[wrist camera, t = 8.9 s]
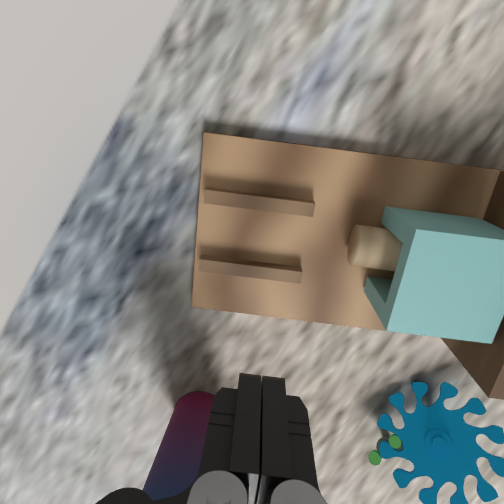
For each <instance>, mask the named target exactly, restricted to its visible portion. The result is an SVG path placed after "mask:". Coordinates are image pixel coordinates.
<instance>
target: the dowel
mask: <svg viewBox="0 0 504 504" xmlns="http://www.w3.org/2000/svg"><path fill="white" fill-rule="evenodd" d="M402 245H403V243H402V242H401V241H400V240H399V239H398V238H397V237H396V236H395V235H393V234H392V233H391V232H390V231H389V230H388V229H386V228H379V227H372V226H365V225H355V226H354V227H353V229H352V231H351V234H350V237H349V242H348V249H347V258H348V263H349V264H350V265H353V266H360V267H367V268H375V269H382V270H389V271H395V270H396V266H397V263H398V259H399V256H400V252H401V249H402Z"/></svg>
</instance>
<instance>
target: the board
mask: <svg viewBox="0 0 504 504" xmlns="http://www.w3.org/2000/svg"><path fill="white" fill-rule="evenodd" d="M385 206H388V207H395V208H403V209H411V210H419V211H427V212H435V213H443V214H451V215H458V216H466V217H474V218H480V219H482V220H484V221H486V222H488V223H490V224H493V225H495V226H497V227H499V228H501V229H503V230H504V170H496V169H488V168H480V167H473V166H465V165H457V164H449V163H441V162H434V161H426V160H418V159H410V158H403V157H395V156H387V155H379V154H371V153H364V152H356V151H348V150H340V149H333V148H325V147H317V146H309V145H301V144H294V143H286V142H278V141H270V140H263V139H255V138H247V137H239V136H232V135H224V134H216V133H208V132H204V135H203V149H202V163H201V178H200V192H199V206H198V221H197V235H196V249H195V264H194V278H193V292H192V307H197V308H205V309H213V310H222V311H230V312H238V313H246V314H254V315H262V316H270V317H279V318H287V319H295V320H303V321H311V322H319V323H327V324H336V325H344V326H352V327H360V328H368V329H376V330H384V331H386V329H385V328H384V326H383V324H382V322H381V321H380V319H379V317H378V315H377V314H376V312H375V310H374V308H373V307H372V305H371V303H370V301H369V300H368V298H367V296H366V294H365V293H364V287H365V283H366V279H367V276H369V277H377V278H385V279H393V277H394V273H395V271H389V270H382V269H375V268H367V267H360V266H353V265H350V264H349V263H348V258H347V249H348V242H349V237H350V234H351V231H352V229H353V227H354V226H355V225H365V226H372V227H379V228H386V227H385V226H384V225H383V224H381V221H382V217H383V213H384V209H385ZM386 229H387V228H386ZM441 339H442V340H443V341H444V342H445V344H446V345H447V346H448V347H449V349H450V350H451V351H452V352H453V354H454V355H455V356H456V357H457V359H458V360H459V361H460V362H461V364H462V365H463V366H464V367H465V369H466V370H467V371H468V373H469V374H470V375H471V376H472V378H473V379H474V380H475V381H476V383H477V384H478V385H479V386H480V388H481V389H482V390H483V391H484V393H485V394H486V395H487V396H488V398H496V399H504V316H503V318H502V321H501V323H500V325H499V328H498V330H497V332H496V335H495V337H494V340H493V342H492V344H489V343H481V342H473V341H465V340H457V339H448V338H441Z"/></svg>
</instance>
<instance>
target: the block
mask: <svg viewBox="0 0 504 504" xmlns="http://www.w3.org/2000/svg"><path fill="white" fill-rule="evenodd" d="M381 224H383V225H384V226H385V227H386V228H387V229H388V230H389V231H390V232H391V233H392V234H393V235H395V236H396V237H397V238H398V239H399V240H400V241H401V242H402V243H403V245H402V249H401V252H400V256H399V259H398V263H397V266H396V270H395V273H394V277H393V279H385V278H377V277H369V276H367V279H366V283H365V287H364V293H365V294H366V296H367V298H368V300H369V301H370V303H371V305H372V307H373V308H374V310H375V312H376V314H377V315H378V317H379V319H380V321H381V322H382V324H383V326H384V328H385V329H386V331H391V332H399V333H408V334H416V335H424V336H432V337H440V338H448V339H457V340H465V341H473V342H481V343H489V344H492V342H493V340H494V337H495V335H496V332H497V330H498V328H499V325H500V323H501V321H502V318H503V316H504V230H503V229H501V228H499V227H497V226H495V225H493V224H490V223H488V222H486V221H484V220H482V219H480V218H474V217H466V216H458V215H451V214H443V213H435V212H427V211H419V210H411V209H403V208H395V207H388V206H385V209H384V213H383V217H382V221H381Z"/></svg>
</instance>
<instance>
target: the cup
mask: <svg viewBox="0 0 504 504" xmlns="http://www.w3.org/2000/svg"><path fill="white" fill-rule="evenodd" d="M214 397H215V396H214V395H212V394H210V393H206V392H192V393H189V394H186V395H184V396H183V397H181V398H180V400H179V401H178V402H177V404H176V407H175V409H174V412H173V414H172V417H171V419H170V422H169V424H168V427H167V429H166V432H165V434H164V437H163V440H162V442H161V445H160V447H159V450H158V452H157V455H156V457H155V460H154V462H153V465H152V467H151V470H150V473H149V475H148V478H147V480H146V483H145V485H144V488H143V490H142V491H144V492H145V493H147V494H148V495H149V496H150V498H151V499H152V501H153V500H158V499H163V498H167V497H171V496H175V495H177V494H179V493H181V492H183V491H184V490H186V489H187V488H188V487H189V486H190V485H191V484H192V483H193V482H194V480H195V479H196V477H197V475H198V472H199V469H200V464H201V458H202V453H203V448H204V443H205V438H206V433H207V428H208V422H209V417H210V413H211V407H212V402H213V398H214Z"/></svg>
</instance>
